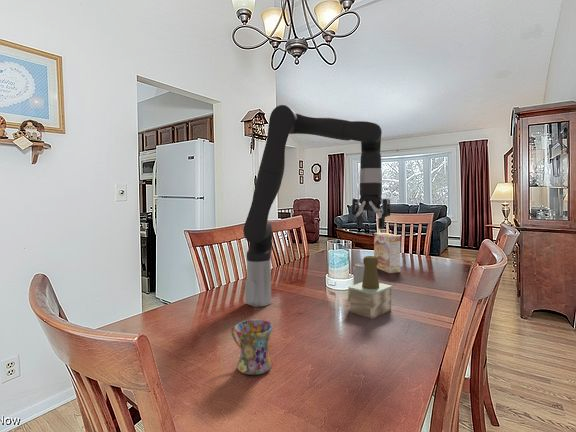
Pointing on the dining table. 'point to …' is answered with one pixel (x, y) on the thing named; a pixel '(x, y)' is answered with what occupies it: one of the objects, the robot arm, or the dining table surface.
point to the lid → (359, 288)
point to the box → (369, 303)
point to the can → (358, 273)
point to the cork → (370, 273)
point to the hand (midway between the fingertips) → (370, 227)
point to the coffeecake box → (387, 251)
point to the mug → (253, 346)
